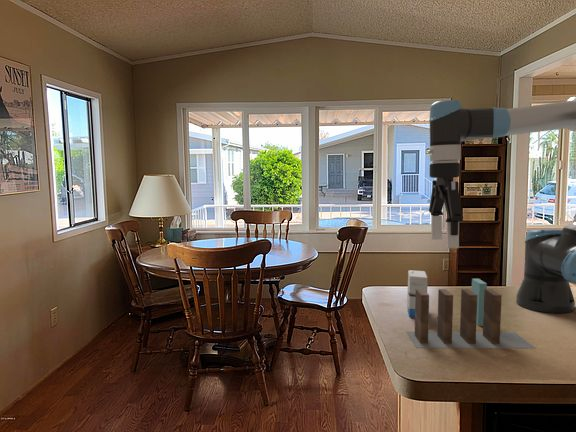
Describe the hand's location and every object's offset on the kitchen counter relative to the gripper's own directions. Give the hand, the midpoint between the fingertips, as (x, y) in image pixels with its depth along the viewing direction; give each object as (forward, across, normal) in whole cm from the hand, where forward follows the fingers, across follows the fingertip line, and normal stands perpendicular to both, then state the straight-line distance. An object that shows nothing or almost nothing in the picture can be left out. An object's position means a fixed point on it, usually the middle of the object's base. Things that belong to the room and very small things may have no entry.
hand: (444, 243), depth 117 cm
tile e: (+21, +13, -9) cm, 26 cm away
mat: (+21, +13, +2) cm, 25 cm away
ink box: (+22, -7, -6) cm, 23 cm away
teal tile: (+22, +1, +8) cm, 23 cm away
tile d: (+21, +13, -4) cm, 25 cm away
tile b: (+21, +13, +7) cm, 26 cm away
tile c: (+21, +13, +2) cm, 25 cm away
